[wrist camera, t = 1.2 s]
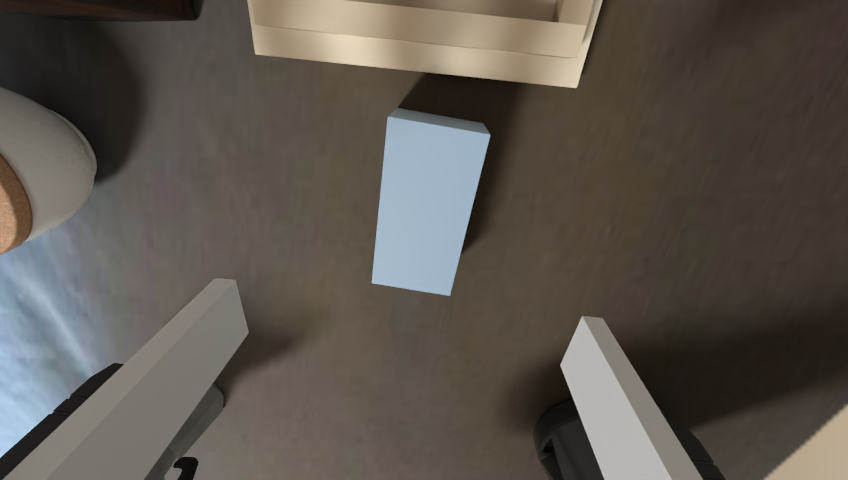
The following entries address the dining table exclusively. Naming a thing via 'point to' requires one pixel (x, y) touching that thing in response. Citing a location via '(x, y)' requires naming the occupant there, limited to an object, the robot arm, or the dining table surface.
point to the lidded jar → (39, 169)
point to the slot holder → (434, 35)
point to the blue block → (426, 198)
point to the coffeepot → (189, 437)
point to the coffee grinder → (105, 9)
